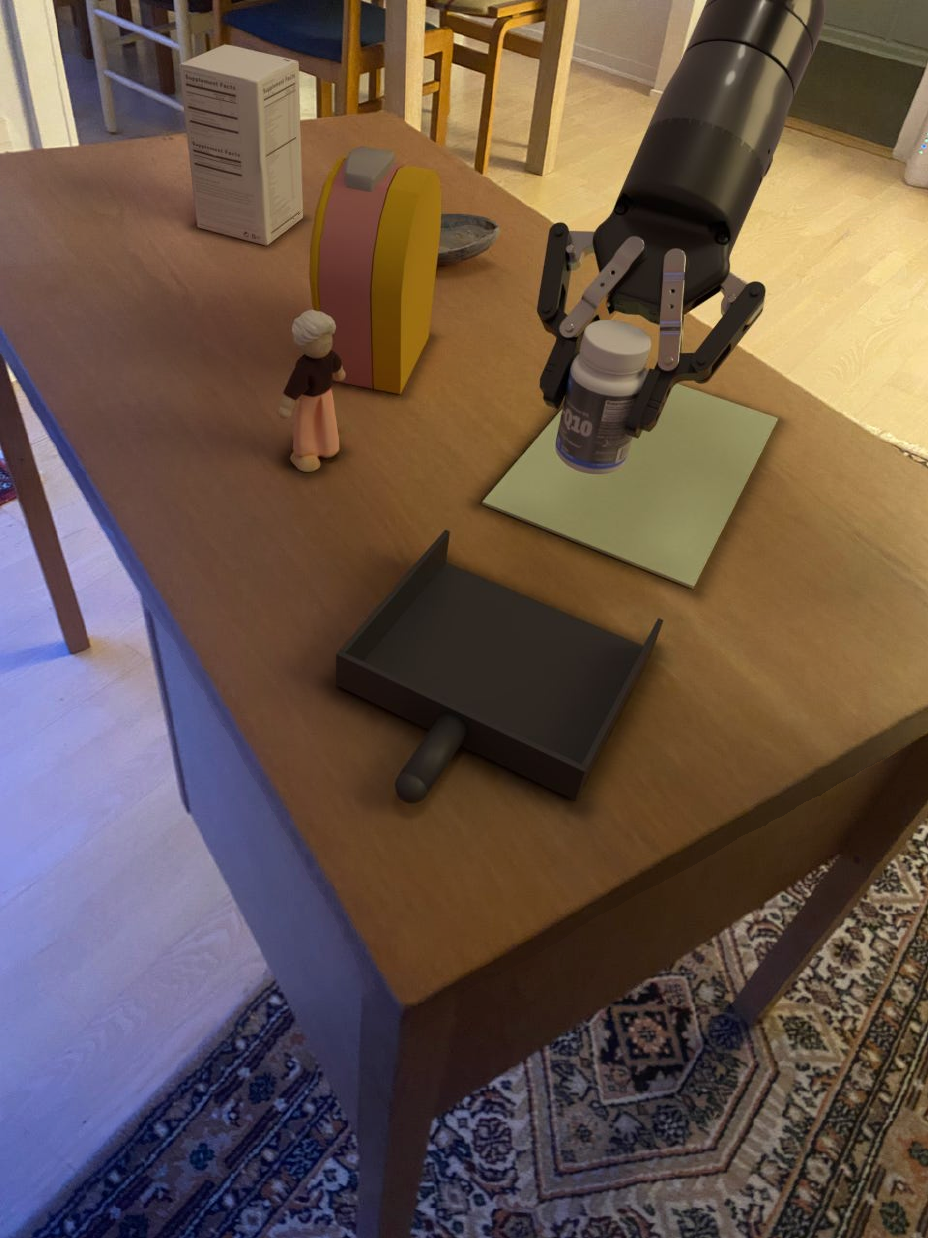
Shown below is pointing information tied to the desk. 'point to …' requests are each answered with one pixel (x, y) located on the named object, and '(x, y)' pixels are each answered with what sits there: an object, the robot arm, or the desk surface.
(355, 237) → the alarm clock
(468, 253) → the grey shallow oval dish
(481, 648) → the dustpan
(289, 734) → the desk surface
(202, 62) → the supplement box
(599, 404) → the pill bottle
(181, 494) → the desk surface
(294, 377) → the grandmother figurine
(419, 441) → the desk surface
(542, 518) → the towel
